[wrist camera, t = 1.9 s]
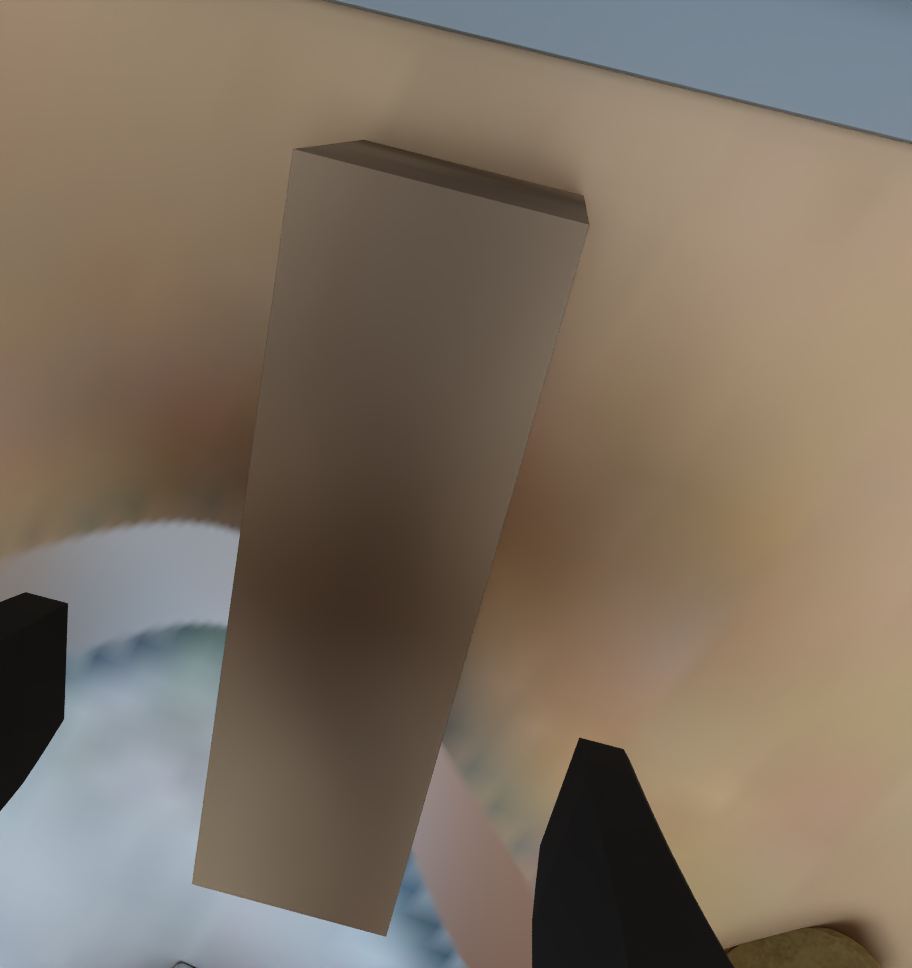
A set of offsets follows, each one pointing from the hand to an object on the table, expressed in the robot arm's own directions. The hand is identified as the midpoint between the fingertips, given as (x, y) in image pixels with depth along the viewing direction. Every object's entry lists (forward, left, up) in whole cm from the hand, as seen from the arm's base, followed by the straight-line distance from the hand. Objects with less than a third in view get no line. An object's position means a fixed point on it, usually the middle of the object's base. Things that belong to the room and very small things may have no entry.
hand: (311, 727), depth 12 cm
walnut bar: (0, 0, -7) cm, 7 cm away
